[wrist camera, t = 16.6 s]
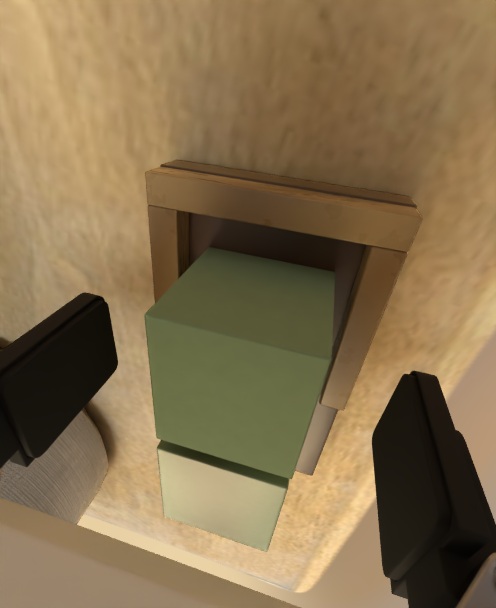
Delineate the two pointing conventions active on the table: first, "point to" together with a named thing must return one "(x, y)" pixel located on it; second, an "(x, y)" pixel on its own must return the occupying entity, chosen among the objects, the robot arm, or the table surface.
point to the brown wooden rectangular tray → (287, 248)
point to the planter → (60, 473)
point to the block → (241, 357)
